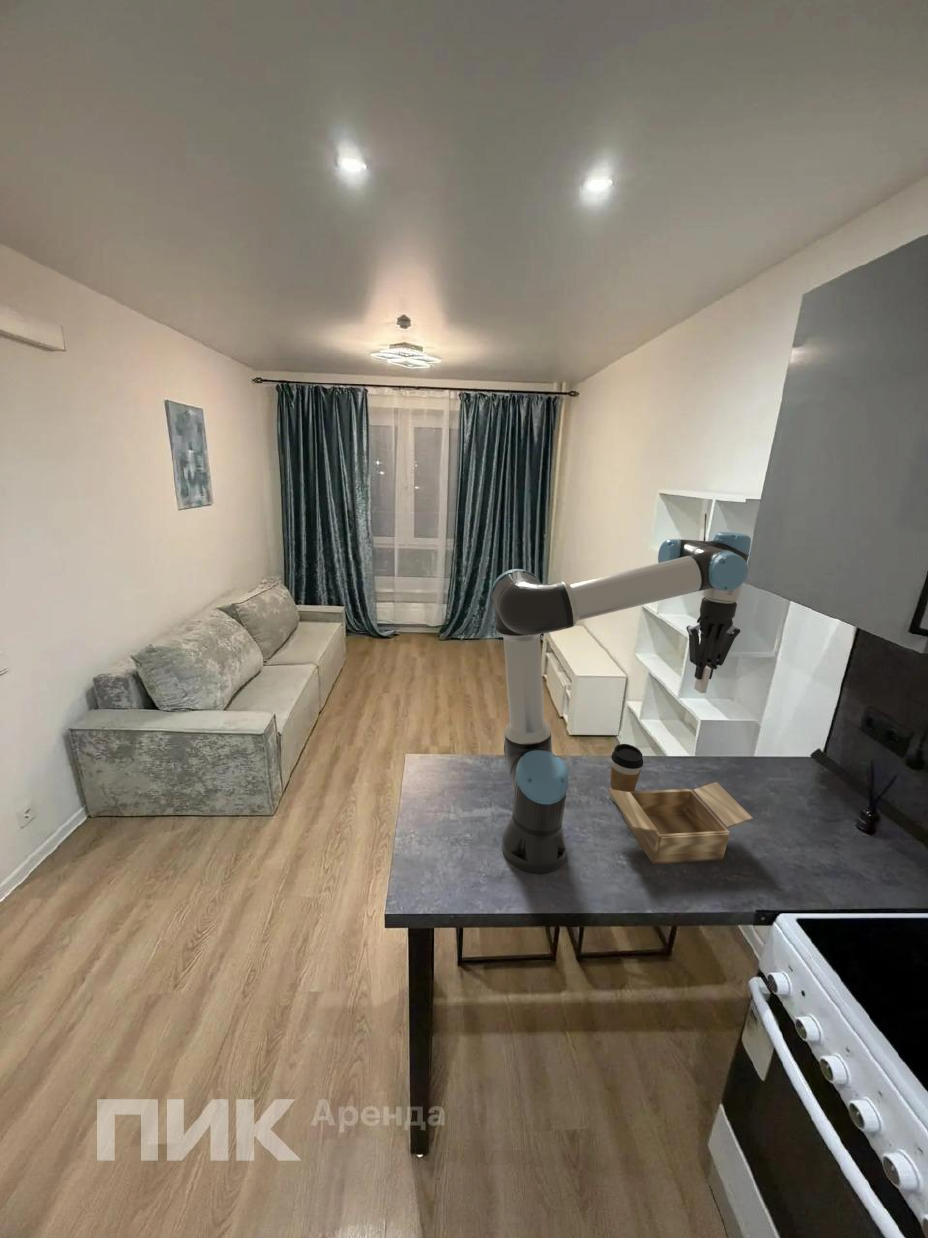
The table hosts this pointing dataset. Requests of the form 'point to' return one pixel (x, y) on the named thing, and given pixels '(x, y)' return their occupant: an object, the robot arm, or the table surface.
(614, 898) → the table surface
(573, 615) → the robot arm
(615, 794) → the flap
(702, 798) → the flap
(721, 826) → the crate
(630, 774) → the coffee cup
